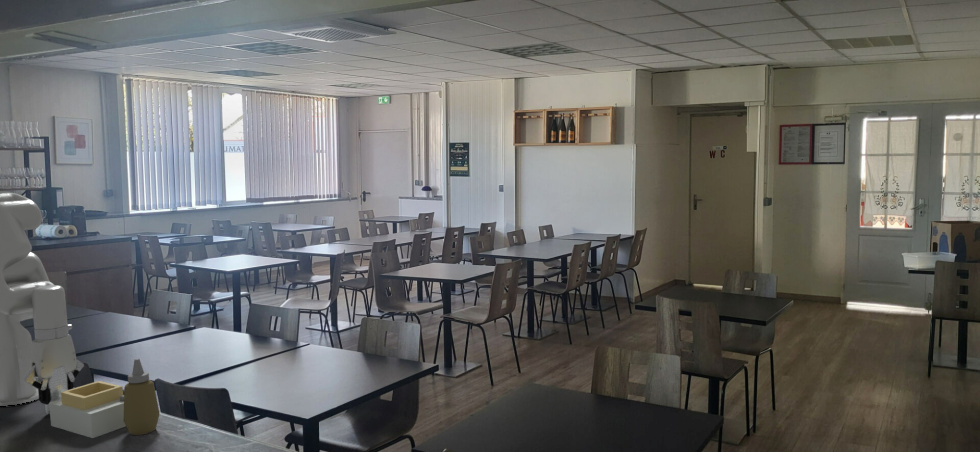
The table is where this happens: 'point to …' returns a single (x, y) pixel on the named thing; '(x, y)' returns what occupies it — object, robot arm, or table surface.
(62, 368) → the spout can
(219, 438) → the table surface
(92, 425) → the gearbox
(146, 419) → the squeeze bottle
